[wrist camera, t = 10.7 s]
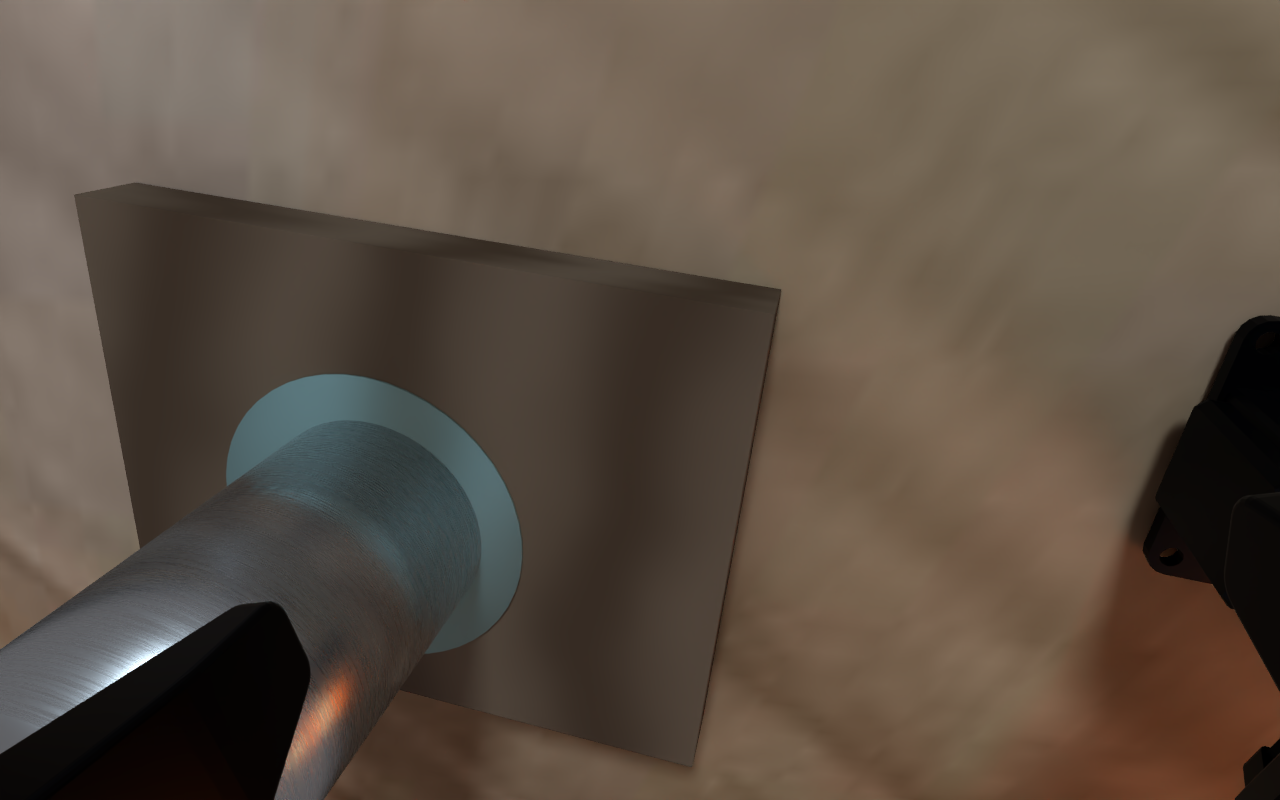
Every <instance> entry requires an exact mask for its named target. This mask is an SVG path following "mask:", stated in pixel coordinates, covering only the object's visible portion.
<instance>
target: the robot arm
mask: <svg viewBox="0 0 1280 800" xmlns="http://www.w3.org/2000/svg"><path fill="white" fill-rule="evenodd" d="M1267 332H1274V333H1275V337H1274V340H1273V342H1272V343H1271V344H1270V345H1268V346H1266V347H1264V348H1257V349H1256V348H1255V346H1256V341H1257V340H1258V338H1259V337H1260V336H1261V335H1263V334H1265V333H1267ZM1156 501H1157V502H1158V504H1159V505H1160V508H1159V510H1158V512H1157V515H1156V517H1155V519H1154V521H1153V524H1152V526H1151V528H1150V531H1149V533H1148V535H1147V537H1146V540H1145V542H1144V545H1143V553H1144V555H1145V558H1146V559H1147V561H1148V563H1149V565H1150V566H1151V567H1152V568H1153V569H1154V570H1155V571H1157V572H1159V573H1162V574H1165V575H1170V576H1175V577H1180V578H1185V579H1190V580H1195V581H1199V582H1204V583H1209V584H1213V586H1214V587H1215V589H1216V590H1217V592H1218V593H1219V595H1220V596H1221V598H1222V599H1223V601H1224V602H1225V604H1226V605H1227V606H1228V607H1229V608H1231V609H1234V610H1235V612H1236V613H1237V615H1238V617H1239V619H1240V621H1241V622H1242V624H1243V626H1244V628H1245V630H1246V632H1247V633H1248V635H1249V637H1250V639H1251V641H1252V642H1253V644H1254V646H1255V648H1256V650H1257V651H1258V653H1259V655H1260V657H1261V659H1262V661H1263V662H1264V664H1265V666H1266V668H1267V670H1268V671H1269V673H1270V675H1271V677H1272V679H1273V681H1274V682H1275V684H1276V686H1277V688H1278V690H1279V691H1280V317H1278V316H1271V315H1268V316H1258V317H1255V318H1252V319H1249V320H1248V321H1247V322H1245V323H1244V324H1242V325H1241V326H1240V328H1239V329H1238V331H1237V332H1236V334H1235V336H1234V338H1233V341H1232V343H1231V345H1230V348H1229V350H1228V352H1227V354H1226V357H1225V359H1224V361H1223V364H1222V366H1221V368H1220V370H1219V373H1218V375H1217V377H1216V380H1215V382H1214V384H1213V386H1212V389H1211V391H1210V393H1209V396H1208V398H1207V399H1206V400H1204V401H1203V402H1201V403H1199V404H1198V405H1196V406H1195V407H1194V408H1193V410H1192V412H1191V415H1190V417H1189V419H1188V422H1187V424H1186V426H1185V429H1184V431H1183V433H1182V436H1181V438H1180V440H1179V443H1178V445H1177V447H1176V450H1175V452H1174V454H1173V456H1172V459H1171V461H1170V463H1169V466H1168V468H1167V470H1166V473H1165V475H1164V477H1163V480H1162V482H1161V484H1160V487H1159V489H1158V491H1157V494H1156ZM1169 548H1176V549H1177V551H1176V552H1175V553H1174V554H1173V555H1171V556H1168V557H1161V556H1160V554H1161V553H1162V552H1163V551H1164V550H1166V549H1169ZM310 676H311V671H310V664H309V660H308V657H307V655H306V653H305V651H304V649H303V646H302V644H301V642H300V640H299V638H298V636H297V634H296V632H295V630H294V628H293V626H292V623H291V621H290V619H289V617H288V615H287V613H286V611H285V610H284V608H283V607H282V606H281V605H279V604H278V603H276V602H272V601H266V602H256V603H247V604H240V605H237V606H234V607H232V608H231V609H229V610H227V611H226V612H224V613H223V614H221V615H219V616H218V617H216V618H215V619H213V620H212V621H210V622H208V623H207V624H205V625H204V626H202V627H200V628H199V629H197V630H196V631H194V632H192V633H191V634H189V635H188V636H186V637H185V638H183V639H181V640H180V641H178V642H177V643H175V644H173V645H172V646H170V647H169V648H167V649H166V650H164V651H162V652H161V653H159V654H158V655H156V656H154V657H153V658H151V659H150V660H148V661H147V662H145V663H143V664H142V665H140V666H139V667H137V668H135V669H134V670H132V671H131V672H129V673H128V674H126V675H124V676H123V677H121V678H120V679H118V680H116V681H115V682H113V683H112V684H110V685H109V686H107V687H105V688H104V689H102V690H101V691H99V692H97V693H96V694H94V695H93V696H91V697H90V698H88V699H86V700H85V701H83V702H82V703H80V704H78V705H77V706H75V707H74V708H72V709H70V710H69V711H67V712H66V713H64V714H63V715H61V716H59V717H58V718H56V719H55V720H53V721H51V722H50V723H48V724H47V725H45V726H44V727H42V728H40V729H39V730H37V731H36V732H34V733H32V734H31V735H29V736H28V737H26V738H25V739H23V740H21V741H20V742H18V743H17V744H15V745H13V746H12V747H10V748H9V749H7V750H6V751H4V752H2V753H1V754H0V800H274V798H275V795H276V792H277V789H278V785H279V782H280V779H281V776H282V772H283V769H284V766H285V763H286V759H287V756H288V753H289V750H290V747H291V743H292V740H293V737H294V734H295V730H296V727H297V724H298V721H299V717H300V714H301V711H302V708H303V704H304V701H305V698H306V695H307V691H308V688H309V684H310ZM1243 771H1244V780H1245V788H1244V789H1243V790H1242V791H1241V792H1240V794H1239V795H1238V796H1237V797H1236V798H1235V800H1280V739H1279V740H1278V741H1277V742H1276V743H1275V744H1274V745H1273V746H1272V747H1271V748H1270V747H1266V746H1263V747H1261V748H1260V749H1259V750H1258V751H1257V752H1256V753H1255V754H1254V755H1253V756H1252V757H1251V758H1250V759H1249V760H1248V761H1247V762H1246V763H1245V764H1244V766H1243Z"/></svg>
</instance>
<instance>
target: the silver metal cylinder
mask: <svg viewBox="0 0 1280 800" xmlns="http://www.w3.org/2000/svg"><path fill="white" fill-rule="evenodd" d="M480 558H481V536H480V528H479V525H478V521H477V517H476V514H475V512H474V509H473V507H472V504H471V502H470V500H469V498H468V496H467V495H466V493H465V491H464V489H463V488H462V486H461V485H460V483H459V482H458V481H457V479H456V478H455V476H454V475H453V474H452V473H451V472H450V471H449V470H448V468H447V467H446V466H445V465H444V464H443V463H442V462H441V461H440V460H439V459H438V458H437V457H435V456H434V455H433V454H432V453H431V452H430V451H428V450H427V449H426V448H424V447H423V446H421V445H420V444H419V443H417V442H415V441H414V440H412V439H410V438H409V437H407V436H405V435H403V434H401V433H399V432H396V431H394V430H392V429H390V428H386V427H383V426H380V425H377V424H373V423H368V422H363V421H351V420H343V421H332V422H327V423H323V424H319V425H317V426H314V427H311V428H309V429H307V430H306V431H304V432H302V433H301V434H299V435H298V436H296V437H295V438H293V439H292V440H291V441H289V442H288V443H286V444H285V445H284V446H282V447H281V448H279V449H278V450H277V451H275V452H274V453H273V454H271V455H270V456H268V457H267V458H266V459H264V460H263V461H261V462H260V463H259V464H257V465H256V466H254V467H253V468H252V469H250V470H249V471H248V472H246V473H245V474H243V475H242V476H241V477H239V478H238V479H236V480H235V481H234V482H232V483H231V484H229V485H228V486H227V487H225V488H224V489H223V490H221V491H220V492H218V493H217V494H216V495H214V496H213V497H211V498H210V499H209V500H207V501H206V502H205V503H203V504H202V505H200V506H199V507H198V508H196V509H195V510H193V511H192V512H191V513H189V514H188V515H186V516H185V517H184V518H182V519H181V520H180V521H178V522H177V523H175V524H174V525H173V526H171V527H170V528H168V529H167V530H166V531H164V532H163V533H161V534H160V535H159V536H157V537H156V538H155V539H153V540H152V541H150V542H149V543H148V544H146V545H145V546H143V547H142V548H141V549H139V550H138V551H136V552H135V553H134V554H132V555H131V556H130V557H128V558H127V559H125V560H124V561H123V562H121V563H120V564H118V565H117V566H116V567H114V568H113V569H111V570H110V571H109V572H107V573H106V574H105V575H103V576H102V577H100V578H99V579H98V580H96V581H95V582H93V583H92V584H91V585H89V586H88V587H86V588H85V589H84V590H82V591H81V592H80V593H78V594H77V595H75V596H74V597H73V598H71V599H70V600H68V601H67V602H66V603H64V604H63V605H61V606H60V607H59V608H57V609H56V610H55V611H53V612H52V613H50V614H49V615H48V616H46V617H45V618H43V619H42V620H41V621H39V622H38V623H36V624H35V625H34V626H32V627H31V628H30V629H28V630H27V631H25V632H24V633H23V634H21V635H20V636H18V637H17V638H16V639H14V640H13V641H12V642H10V643H9V644H7V645H6V646H5V647H3V648H2V649H0V754H1V753H2V752H4V751H6V750H7V749H9V748H10V747H12V746H13V745H15V744H17V743H18V742H20V741H21V740H23V739H25V738H26V737H28V736H29V735H31V734H32V733H34V732H36V731H37V730H39V729H40V728H42V727H44V726H45V725H47V724H48V723H50V722H51V721H53V720H55V719H56V718H58V717H59V716H61V715H63V714H64V713H66V712H67V711H69V710H70V709H72V708H74V707H75V706H77V705H78V704H80V703H82V702H83V701H85V700H86V699H88V698H90V697H91V696H93V695H94V694H96V693H97V692H99V691H101V690H102V689H104V688H105V687H107V686H109V685H110V684H112V683H113V682H115V681H116V680H118V679H120V678H121V677H123V676H124V675H126V674H128V673H129V672H131V671H132V670H134V669H135V668H137V667H139V666H140V665H142V664H143V663H145V662H147V661H148V660H150V659H151V658H153V657H154V656H156V655H158V654H159V653H161V652H162V651H164V650H166V649H167V648H169V647H170V646H172V645H173V644H175V643H177V642H178V641H180V640H181V639H183V638H185V637H186V636H188V635H189V634H191V633H192V632H194V631H196V630H197V629H199V628H200V627H202V626H204V625H205V624H207V623H208V622H210V621H212V620H213V619H215V618H216V617H218V616H219V615H221V614H223V613H224V612H226V611H227V610H229V609H231V608H232V607H234V606H237V605H240V604H247V603H256V602H266V601H272V602H276V603H278V604H279V605H281V606H282V607H283V608H284V610H285V611H286V613H287V615H288V617H289V619H290V621H291V623H292V626H293V628H294V630H295V632H296V634H297V636H298V638H299V640H300V642H301V644H302V646H303V649H304V651H305V653H306V655H307V657H308V660H309V664H310V671H311V676H310V684H309V688H308V691H307V695H306V698H305V701H304V704H303V708H302V711H301V714H300V717H299V721H298V724H297V727H296V730H295V734H294V737H293V740H292V743H291V747H290V750H289V753H288V756H287V759H286V763H285V766H284V769H283V772H282V776H281V779H280V782H279V785H278V789H277V792H276V795H275V798H274V800H324V799H325V797H326V796H327V794H328V793H329V791H330V790H331V788H332V787H333V786H334V784H335V783H336V781H337V780H338V778H339V777H340V775H341V774H342V773H343V771H344V770H345V768H346V767H347V765H348V764H349V762H350V761H351V759H352V758H353V757H354V755H355V754H356V752H357V751H358V749H359V748H360V746H361V745H362V743H363V742H364V741H365V739H366V738H367V736H368V735H369V733H370V732H371V730H372V729H373V727H374V726H375V725H376V723H377V722H378V720H379V719H380V717H381V716H382V714H383V713H384V711H385V710H386V709H387V707H388V706H389V704H390V703H391V701H392V700H393V698H394V697H395V696H396V694H397V693H398V691H399V690H400V688H401V687H402V685H403V684H404V682H405V681H406V680H407V678H408V677H409V675H410V674H411V672H412V671H413V669H414V668H415V666H416V665H417V664H418V662H419V661H420V659H421V658H422V656H423V655H424V653H425V652H426V650H427V649H428V648H429V646H430V645H431V643H432V642H433V640H434V639H435V637H436V636H437V635H438V633H439V632H440V630H441V629H442V627H443V626H444V624H445V623H446V621H447V620H448V619H449V617H450V616H451V614H452V613H453V611H454V610H455V608H456V607H457V605H458V604H459V603H460V601H461V600H462V598H463V597H464V595H465V594H466V592H467V591H468V589H469V588H470V586H471V584H472V583H473V581H474V579H475V577H476V574H477V571H478V568H479V564H480Z"/></svg>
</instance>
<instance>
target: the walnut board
mask: <svg viewBox="0 0 1280 800" xmlns="http://www.w3.org/2000/svg"><path fill="white" fill-rule="evenodd" d="M74 196H75V201H76V207H77V212H78V218H79V223H80V228H81V234H82V239H83V244H84V250H85V255H86V260H87V266H88V271H89V277H90V282H91V287H92V293H93V298H94V303H95V309H96V314H97V319H98V325H99V330H100V336H101V341H102V346H103V352H104V357H105V362H106V368H107V373H108V378H109V384H110V389H111V395H112V400H113V405H114V411H115V416H116V421H117V427H118V432H119V437H120V443H121V448H122V454H123V459H124V464H125V470H126V475H127V480H128V486H129V491H130V496H131V502H132V507H133V513H134V518H135V523H136V529H137V534H138V539H139V545H140V549H141V548H142V547H143V546H145V545H146V544H148V543H149V542H150V541H152V540H153V539H155V538H156V537H157V536H159V535H160V534H161V533H163V532H164V531H166V530H167V529H168V528H170V527H171V526H173V525H174V524H175V523H177V522H178V521H180V520H181V519H182V518H184V517H185V516H186V515H188V514H189V513H191V512H192V511H193V510H195V509H196V508H198V507H199V506H200V505H202V504H203V503H205V502H206V501H207V500H209V499H210V498H211V497H213V496H214V495H216V494H217V493H218V492H220V491H221V490H223V489H224V488H225V487H227V486H228V485H229V484H231V483H232V482H234V481H235V480H236V479H238V478H239V477H241V476H242V475H243V474H245V473H246V472H248V471H249V470H250V469H252V468H253V467H254V466H256V465H257V464H259V463H260V462H261V461H263V460H264V459H266V458H267V457H268V456H270V455H271V454H273V453H274V452H275V451H277V450H278V449H279V448H281V447H282V446H284V445H285V444H286V443H288V442H289V441H291V440H292V439H293V438H295V437H296V436H298V435H299V434H301V433H302V432H304V431H306V430H307V429H309V428H311V427H314V426H317V425H319V424H323V423H327V422H332V421H343V420H351V421H363V422H368V423H373V424H377V425H380V426H383V427H386V428H390V429H392V430H394V431H396V432H399V433H401V434H403V435H405V436H407V437H409V438H410V439H412V440H414V441H415V442H417V443H419V444H420V445H421V446H423V447H424V448H426V449H427V450H428V451H430V452H431V453H432V454H433V455H434V456H435V457H437V458H438V459H439V460H440V461H441V462H442V463H443V464H444V465H445V466H446V467H447V468H448V470H449V471H450V472H451V473H452V474H453V475H454V476H455V478H456V479H457V481H458V482H459V483H460V485H461V486H462V488H463V489H464V491H465V493H466V495H467V496H468V498H469V500H470V502H471V504H472V507H473V509H474V512H475V514H476V517H477V521H478V525H479V528H480V536H481V558H480V564H479V568H478V571H477V574H476V577H475V579H474V581H473V583H472V584H471V586H470V588H469V589H468V591H467V592H466V594H465V595H464V597H463V598H462V600H461V601H460V603H459V604H458V605H457V607H456V608H455V610H454V611H453V613H452V614H451V616H450V617H449V619H448V620H447V621H446V623H445V624H444V626H443V627H442V629H441V630H440V632H439V633H438V635H437V636H436V637H435V639H434V640H433V642H432V643H431V645H430V646H429V648H428V649H427V650H426V652H425V653H424V655H423V656H422V658H421V659H420V661H419V662H418V664H417V665H416V666H415V668H414V669H413V671H412V672H411V674H410V675H409V677H408V678H407V680H406V681H405V682H404V684H403V685H402V687H401V688H400V690H402V691H406V692H410V693H414V694H417V695H421V696H425V697H429V698H433V699H436V700H440V701H444V702H448V703H451V704H455V705H459V706H463V707H466V708H470V709H474V710H478V711H481V712H485V713H489V714H493V715H497V716H500V717H504V718H508V719H512V720H515V721H519V722H523V723H527V724H530V725H534V726H538V727H542V728H546V729H549V730H553V731H557V732H561V733H564V734H568V735H572V736H576V737H579V738H583V739H587V740H591V741H595V742H598V743H602V744H606V745H610V746H613V747H617V748H621V749H625V750H628V751H632V752H636V753H640V754H644V755H647V756H651V757H655V758H659V759H662V760H666V761H670V762H674V763H677V764H681V765H685V766H689V767H692V766H693V761H694V757H695V752H696V747H697V743H698V738H699V733H700V728H701V724H702V719H703V714H704V709H705V703H706V698H707V692H708V687H709V681H710V676H711V670H712V665H713V659H714V654H715V649H716V643H717V638H718V632H719V627H720V621H721V616H722V610H723V605H724V599H725V594H726V589H727V583H728V578H729V572H730V567H731V561H732V556H733V550H734V545H735V539H736V534H737V529H738V523H739V518H740V512H741V507H742V501H743V496H744V490H745V485H746V479H747V474H748V469H749V463H750V458H751V452H752V447H753V441H754V436H755V430H756V425H757V419H758V414H759V409H760V403H761V398H762V392H763V387H764V381H765V376H766V370H767V365H768V359H769V354H770V349H771V343H772V338H773V332H774V327H775V321H776V316H777V310H778V305H779V299H780V294H781V290H780V289H774V288H768V287H762V286H756V285H750V284H744V283H738V282H732V281H726V280H720V279H714V278H708V277H702V276H696V275H690V274H684V273H678V272H671V271H665V270H659V269H653V268H647V267H641V266H635V265H629V264H623V263H617V262H611V261H605V260H599V259H593V258H587V257H581V256H575V255H569V254H563V253H557V252H551V251H545V250H539V249H533V248H527V247H520V246H514V245H508V244H502V243H496V242H490V241H484V240H478V239H472V238H466V237H460V236H454V235H448V234H442V233H436V232H430V231H424V230H418V229H412V228H406V227H400V226H394V225H388V224H382V223H376V222H369V221H363V220H357V219H351V218H345V217H339V216H333V215H327V214H321V213H315V212H309V211H303V210H297V209H291V208H285V207H279V206H273V205H267V204H261V203H255V202H249V201H243V200H237V199H231V198H224V197H218V196H212V195H206V194H200V193H194V192H188V191H182V190H176V189H170V188H164V187H158V186H152V185H146V184H140V183H131V184H126V185H121V186H116V187H111V188H106V189H101V190H96V191H91V192H86V193H81V194H76V195H74Z"/></svg>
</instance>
